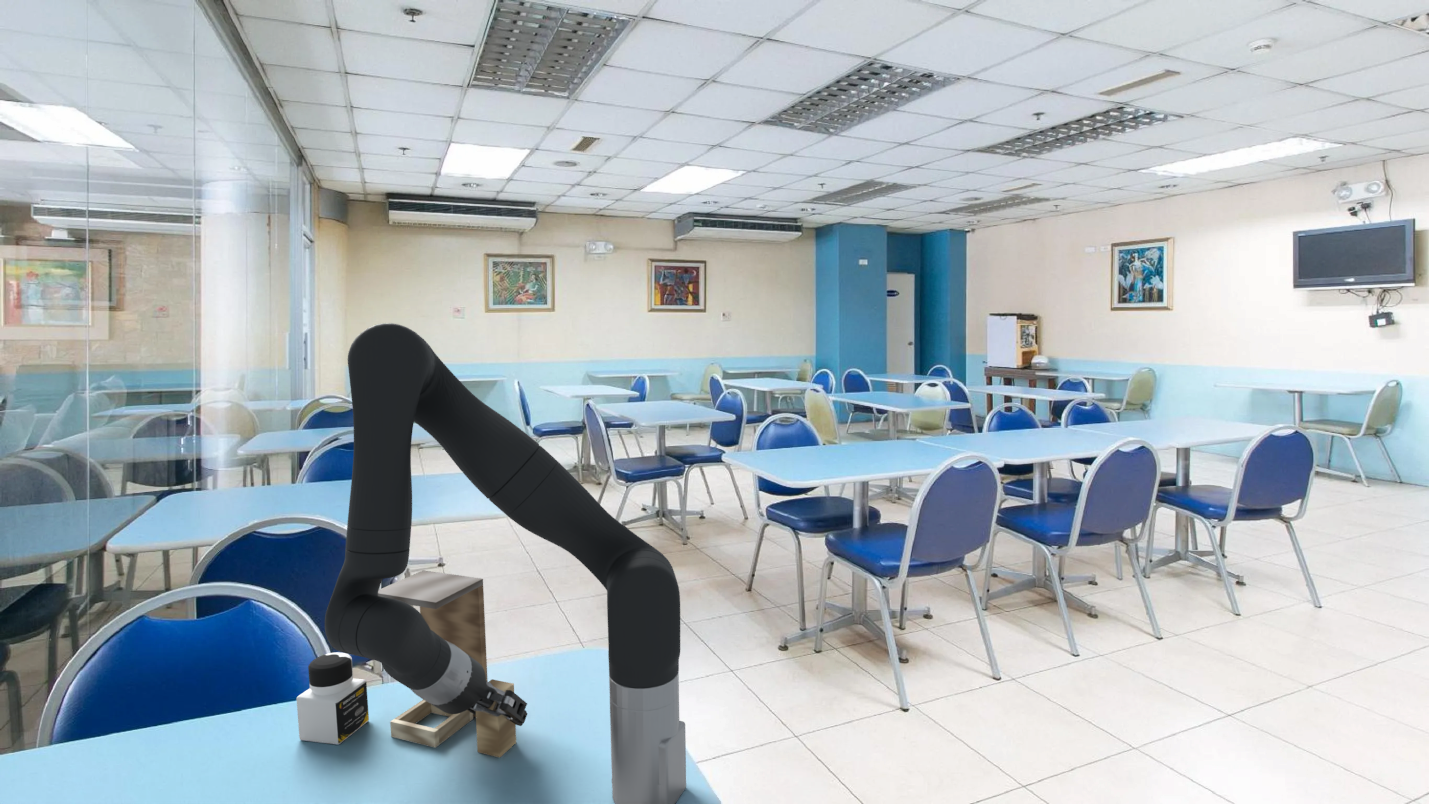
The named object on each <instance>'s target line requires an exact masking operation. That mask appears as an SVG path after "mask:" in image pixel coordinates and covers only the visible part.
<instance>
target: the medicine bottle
mask: <svg viewBox="0 0 1429 804" xmlns="http://www.w3.org/2000/svg"><path fill="white" fill-rule="evenodd" d="M307 668H308V681H309V682H308V683H309V688H308V689H306V690H304V691H303V692H302V693H300V694H299V695H298V696H297V697H296V710H297V711H296V712H297V723H298V734H299V735H298V738H299V740H300V741H306V742H314V743H321V744H331V745H341V744H342V743H343V742H344V741H346V740H347V739H348V738H349V737H351V736H352V735H354V733H356V732H357V731H358V730H359V729H360V728H361V727H364V725H365V724H366V723H368V722H369V721H370V717H369V701H368V686H367V680H366V679H362V678H354V672H353V658H352V656H351V654H347V653H343V652H340V651H337V652H330V653H329V652H328V653H325V654H322V655H320V656H318V657H316V658H314V659H313V660H312V661H310V663H309V664H308V667H307Z"/></svg>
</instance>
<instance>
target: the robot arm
mask: <svg viewBox="0 0 1429 804" xmlns="http://www.w3.org/2000/svg"><path fill="white" fill-rule="evenodd" d="M347 368H348V377H349V385H350V386H349V387H350V395H351V407H352V418H353V422H352V423H353V454H352V455H353V456H352V457H353V459H352V461H353V462H352V471H351V472H352V474H351V484H350V495H349V502H348V503H349V505H348V514H347V527H346V537H345V550H344V551H345V552H344V553H345V555H344V561H343V565H342V567H341V570H340V571H339V574H338V576H337V579H336V582H335V586H334V588H333V591H332V594H331V596H330V600H329V602H328V606H327V608H326V610H325V615H324V631H325V636H326V639H327V641H328V643H329V645H330V646H331V647H332V648H333V649H334V650H336V651H337V652H340V653H346V654H349V655H350V656H351V655H352V656H356V657H360V658H364V659H368V660H373V661H375V662H378V663H381V666H382V668H383V670H384V671H385V673H387V675H389V676H390V677H391V678H392V679H393V680H394V681H396V682H399V683H400V684H402V685H403V686H404V687H406V688H408V689H409V690H410V691H411V692H412V693H414V694H415V695H416V696H417V697H419V698H420V699H422V700H423V699H424V700H425V701H427V702H429V703H430V704H432V705H433V706H435V707H437V708H438V709H440V710H442V711H443V712H445V713H448V714H458V713H462V712H464V711H466V710H468V711H470V712H471V713H473V714H474V715H476V711H481V712H483V713H486V714H488V715H490V716H493V717H498V716H502V717H504V718H506V719H507V720H510V721H511V722H513V723H514V724H516V726H519V727H522V726H523V724H525V721H526V718H527V716H528V712H527V710H526V709H527V708H526V707H527V705H528V702H526V701H525V700H524V699H522V698H521V697H520V696H519V695H517V694H516V693H515V691H514V692H512V691H511V690H506V692H504V691H502V690H500V689H498V688H496V687H493V685H492V684H491V683H489V681H488V682H487V681H486V674H485V671H484V668H483V667H482V665H481V664H480V663H479V662H477V661H476V660H475V659H473V658H472V657H471V656H469V655H468V654H467V653H465V652H464V651H463V650H461V649H460V648H458V647H457V646H456V645H454V644H452V643H450V642H448V641H446V640H444V639H443V638H441V637H440V636H439V635H437V634H436V633H435V632H433V631H432V630H430V627H429V626H428V624H427V623H426V621H425V619H424V618H423V616H422V615H421V614H420V610H418V609H417V608H415V607H414V606H413V605H409V604H407V603H405V602H403V601H400V600H396V599H391V598H385V597H380V596H378V590H379V589H380V586H381V584H382V582H383V580H385V579H390V578H395V577H398V576H400V575H402V574H403V573H404V572H405V571H406V569H407V567H408V564H409V560H410V559H409V558H410V547H411V535H412V523H413V522H412V520H413V518H412V517H413V485H412V483H413V482H412V462H411V461H412V457H411V455H412V438H413V429H414V423H415V424H416V425H418V426H419V427H420V428H422V429H423V430H424V431H425V432H427V433H428V434H429V435H430V436H431V437H432V438H433V439H434V440H435V441H436V442H437V443H438V444H439V445H440V446H441V447H442V448H443V450H444V451H445V452H446V453H447V455H448V456H449V457H450V459H451V461H453V462H454V464H455V465H456V466H457V468H459V470H460V471H461V472H462V473H463V474H464V476H465V477H466V478H467V479H468V480H469V481H470V483H471V484H472V485H473V486H474V487H475V488H476V489H478V491H479V492H480V493H481V494H482V495H484V497H486V499H488V501H490V502H491V503H492V504H493V505H494V506H495V507H496V508H498V509H499V510H500V511H501V512H502V513H503V514H505V515H506V516H507V517H508V518H509V519H510V520H512V521H513V522H515V524H517V525H519V526H520V527H522V528H523V529H525V530H526V531H528V532H530V533H532V534H533V535H535V536H537V537H539V538H541V539H544V540H545V541H546V542H549V543H551V544H554V545H556V546H558V548H559V547H560V548H562V549H563V550H565V551H566V552H568V553H569V554H571V556H573V557H575V558H576V559H577V560H578V561H579V562H580V563H581V564H582V565H583V566H584V567H585V568H586V569H587V570H588V571H589V572H590V573H591V574H592V575H593V576H594V577H595V578H596V579H597V580H598V581H599V583H600V584H601V585H602V587H604V588H605V590H606V597H607V598H606V609H607V640H608V643H607V645H608V650H607V651H608V674H609V675H608V676H609V677H608V680H609V681H608V683H609V720H610V722H609V723H610V724H609V725H610V761H611V765H610V766H611V785H612V786H611V789H612V790H611V791H612V792H611V793H612V801H613V803H614V804H677V801H678V800H679V799H680V797H681V796H682V794H683V793H684V792H685V790H686V789H687V751H686V742H687V741H686V722H685V721H682V720H680V680H679V677H680V676H679V675H680V674H679V671H680V668H679V667H680V664H679V663H680V662H679V661H680V656H681V655H680V654H681V595H680V594H681V593H680V586H679V583H678V581H677V577H676V574H675V571H674V569H673V566H672V564H671V562H670V560H669V559H668V558H667V557H666V556H665V555H664V554H663V553H662V552H661V551H659V550H658V549H657V548H655V547H654V546H652V545H651V544H649V543H648V542H647V541H645V540H644V539H642V538H641V537H640V536H638V535H637V534H636V533H634V532H633V531H632V530H630V529H629V528H628V527H626V526H625V525H624V524H622V523H621V522H620V521H618V520H617V519H616V518H614V517H613V516H612V515H611V514H610V513H609V512H607V510H606V509H605V508H604V507H603V506H602V505H601V504H600V503H599V502H598V501H597V500H596V499H595V498H594V497H593V495H592V494H591V493H590V492H589V491H588V490H587V489H586V488H585V487H584V486H583V485H582V484H581V483H580V482H579V481H578V480H577V479H576V478H575V477H574V476H573V474H571V473H570V472H569V471H568V470H567V469H566V468H565V467H564V466H563V465H562V464H561V463H560V462H559V461H558V460H557V459H556V458H554V456H553V455H551V454H550V453H549V452H548V451H547V450H546V449H545V448H544V447H543V446H541V445H540V443H538V442H537V441H536V440H535V439H533V438H532V436H530V435H528V434H527V433H526V432H525V431H523V430H522V429H521V428H519V427H518V426H517V425H516V424H514V423H513V422H512V421H510V420H509V419H508V418H506V417H505V416H503V415H502V414H500V413H499V412H497V411H496V410H494V409H493V408H491V407H490V406H488V405H487V404H486V403H484V402H483V401H482V400H480V399H479V398H478V397H477V396H476V395H475V394H474V393H472V392H471V391H470V390H469V389H468V388H467V387H466V386H465V385H464V384H463V382H461V381H460V379H458V377H456V375H455V374H454V372H452V371H451V370H450V369H449V368H448V367H447V365H446V364H445V363H444V362H443V361H442V359H440V357H439V356H438V355H437V354H436V352H435V351H434V350H433V349H432V347H431V346H430V345H429V343H428V342H427V341H426V340H425V339H424V338H423V337H422V336H421V335H419V334H418V333H417V332H416V331H414V330H412V329H410V328H409V327H407V326H405V325H401V324H399V323H393V322H388V323H386V322H385V323H384V322H382V323H378V324H374V325H372V326H370V327H369V326H368V327H367V328H365V329H364V330H363V331H360V333H359V334H358V335H357V336H356V337H355V339H354V340H353V341H352V343H351V345H350V348H349V350H348V353H347ZM494 702H496V703H495V706H494V708H493V710H490V709H488V708H490V707H491V706H492V704H493V703H494ZM503 711H504V712H503Z"/></svg>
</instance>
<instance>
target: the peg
mask: <svg viewBox="0 0 1429 804" xmlns="http://www.w3.org/2000/svg"><path fill="white" fill-rule="evenodd" d="M488 682H489V683H491V684H492V685H493V687H496V688H498V689H500V690H502V691H504V692H506V690H511V691H512V692H514V693H515V684H514V683H513V682H507V681H501V680H498V679H490V680H488ZM495 703H496V702H494V703H493V704H492V706H491V707H490V708H488V709H490V710H493V708H494V706H495ZM503 712H504V711H503ZM475 724H476V725H475V726H476V746H477V749H476V750H477V753H479V754H484V755H486V756H487V755H488V756H490V757H491V756H492V757H495V758H501V757H502V756H504V755H505V753H507V752H508V751H509V750H510V749H512V748H513V747H514V746H515V745H516V744H517V729H516V728H517V727H516V726H517V725H516V724H514V723H513V722H511V721H510V720H507V719H506V718H504V717H502V716H498V717H493V716H490V715H488V714H486V713H483V712H481V711H476V717H475ZM514 744H515V745H514ZM513 745H514V746H513ZM512 746H513V747H512Z"/></svg>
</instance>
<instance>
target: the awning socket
mask: <svg viewBox="0 0 1429 804" xmlns="http://www.w3.org/2000/svg"><path fill="white" fill-rule="evenodd" d="M378 596H380V597H385V598H391V599H396V600H400V601H403V602H405V603H407V604H409V605H411V606H413V607H414V606H415V607H419V612H420V614H421V615H422V616H423V618H424V619H425V621H426V623H427V624H428V626H429V627H430V630H432V631H433V632H435V633H436V634H437V635H439V636H440V637H441V638H443V639H444V640H446V641H448V642H450V643H452V644H454V645H456V646H457V647H458V648H460V649H461V650H463V651H464V652H465V653H467V654H468V655H469V656H471V657H472V658H473V659H475V660H476V661H477V662H479V663H480V664H481V665H482V667H483V668H484V671H485V674H486V681H487V682H489V680H488V663H487V662H488V661H487V659H488V658H487V640H486V639H487V638H486V622H485V621H486V618H485V617H486V616H485V615H486V614H485V597H484V596H485V593H484V579H483V578H481V577H474V576H465V575H459V574H452V573H446V572H437V571H431V570H421V571H418V572H416V573H414V574H412V575H408V576H407V577H405V578H403V579H400V580H398V581H396V582H393V583H391V584H389V585H387V586H384V587H383V588H379V590H378ZM430 714H436V715H441V716H445V717H448V718H446V719H445V720H444V721H442V722H441V723H439V724H438V725H437V726H435V727H431V726H426V725H421V724H417V723H418V722H420V721H422V720H423V719H425V718H426V717H427V716H429V715H430ZM474 718H476V715H474V714H473V713H471V712H470V711H468V710H466V711H464V712H462V713H458V714H448V713H445V712H443V711H442V710H440V709H438V708H437V707H435V706H433V705H432V704H430V703H429V702H427V701H425V700H424V699H422V700H420V701H419V702H417V703H416V704H414V705H413V706H411V707H410V708H408V709H407V710H405V711H404V712H402V713H401V714H400V715H397V716H396V717H394V719H392V720H390V722H389V723H390V735H391V736H390V737H391V738H394V739H399V740H402V741H407V742H411V743H414V744H419V745H423V746H427V747H431V748H434V749H436V748H437V747H438V746H440V745H441V744H442V743H444V742H445V741H447V740H448V739H449V738H451V737H452V736H453V735H454V734H456V733H457V732H458V731H460V730H461V729H462V728H463V727H465V726H466V725H467V724H469V723H470V722H472V720H474Z"/></svg>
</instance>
